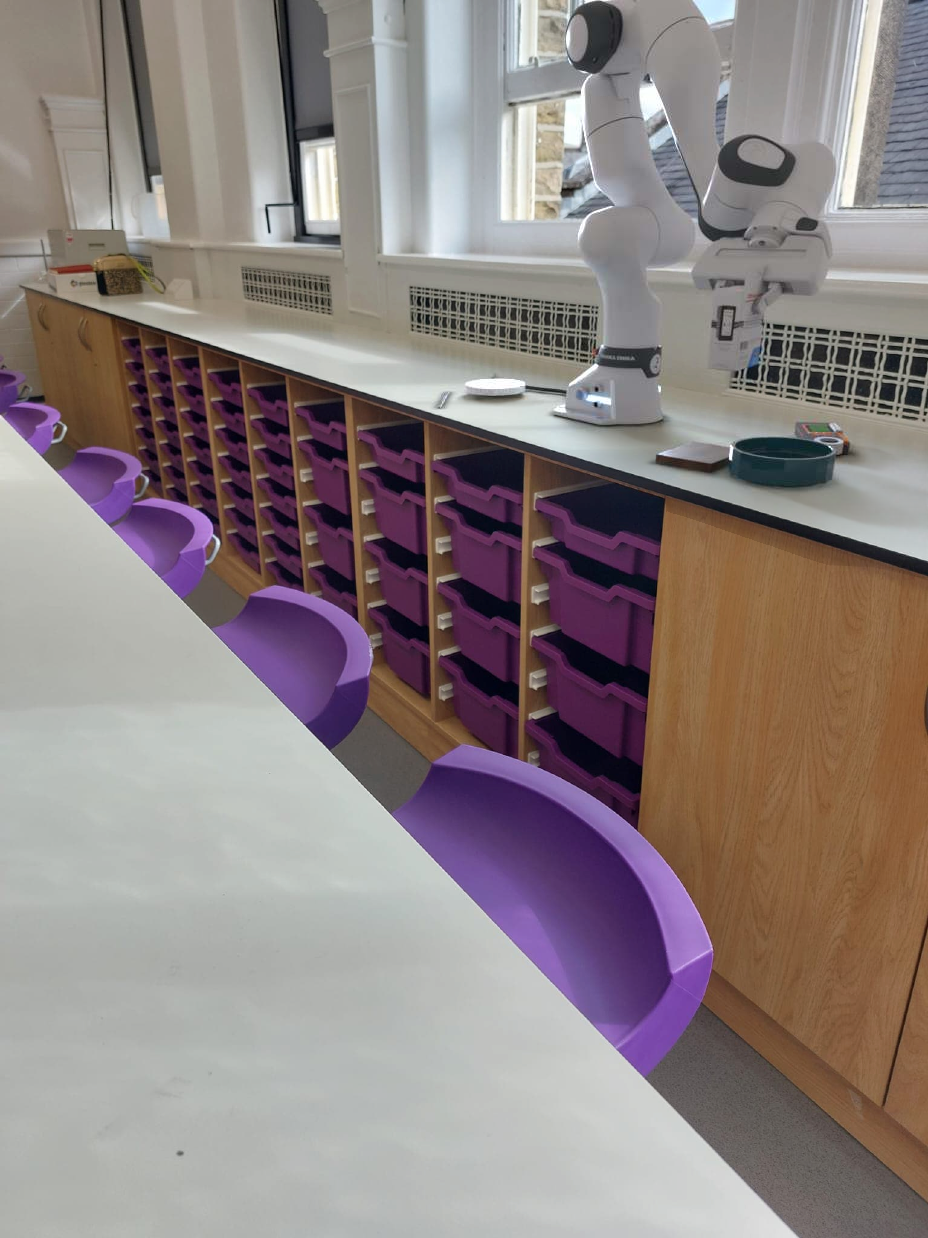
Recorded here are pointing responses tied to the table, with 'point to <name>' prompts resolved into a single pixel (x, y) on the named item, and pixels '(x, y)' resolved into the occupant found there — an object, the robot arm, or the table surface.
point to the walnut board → (696, 457)
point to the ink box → (737, 324)
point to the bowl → (782, 461)
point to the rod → (443, 400)
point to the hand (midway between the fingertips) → (737, 310)
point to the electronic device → (823, 435)
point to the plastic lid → (495, 387)
